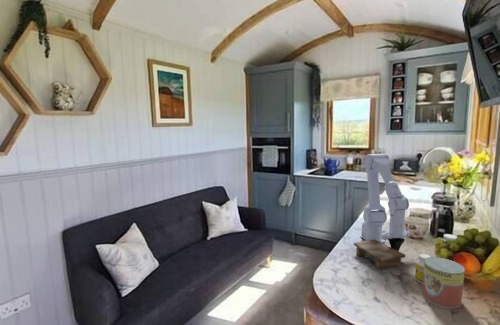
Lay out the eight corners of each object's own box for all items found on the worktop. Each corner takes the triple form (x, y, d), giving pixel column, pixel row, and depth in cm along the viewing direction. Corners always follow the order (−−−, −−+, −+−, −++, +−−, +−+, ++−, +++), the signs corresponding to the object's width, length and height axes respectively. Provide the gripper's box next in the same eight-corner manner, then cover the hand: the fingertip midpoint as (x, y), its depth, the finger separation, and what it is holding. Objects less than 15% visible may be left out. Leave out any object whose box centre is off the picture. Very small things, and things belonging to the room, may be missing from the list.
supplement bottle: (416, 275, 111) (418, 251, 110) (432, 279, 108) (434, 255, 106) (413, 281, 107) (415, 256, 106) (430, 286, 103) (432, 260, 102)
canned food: (414, 292, 99) (416, 260, 98) (435, 285, 104) (438, 254, 102) (447, 312, 89) (451, 276, 88) (469, 303, 94) (472, 269, 92)
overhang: (353, 253, 130) (353, 242, 129) (374, 249, 134) (374, 239, 133) (381, 271, 114) (382, 259, 113) (404, 266, 118) (405, 254, 117)
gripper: (391, 229, 119) (389, 259, 121) (417, 224, 124) (414, 254, 125) (378, 223, 125) (376, 252, 127) (403, 219, 130) (401, 247, 132)
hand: (394, 253), depth 127 cm, fingers closed
